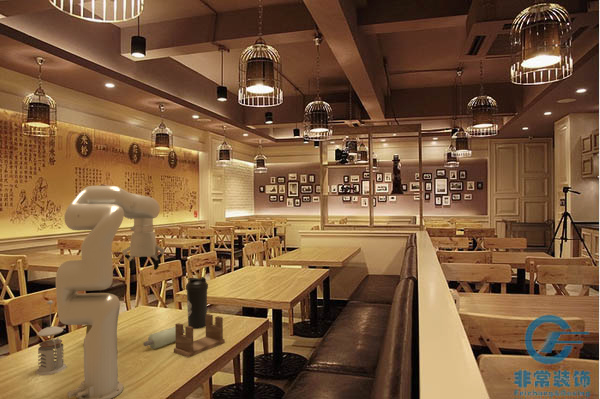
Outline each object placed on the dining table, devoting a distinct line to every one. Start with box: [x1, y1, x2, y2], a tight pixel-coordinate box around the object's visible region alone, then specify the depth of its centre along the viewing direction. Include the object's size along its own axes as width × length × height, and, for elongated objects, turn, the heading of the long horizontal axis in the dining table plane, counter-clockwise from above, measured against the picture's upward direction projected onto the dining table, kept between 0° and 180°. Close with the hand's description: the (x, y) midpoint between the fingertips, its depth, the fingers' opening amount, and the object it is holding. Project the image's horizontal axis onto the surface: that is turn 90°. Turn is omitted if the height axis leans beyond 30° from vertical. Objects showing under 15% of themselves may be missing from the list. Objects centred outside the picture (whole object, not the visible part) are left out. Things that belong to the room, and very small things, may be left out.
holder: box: [173, 313, 226, 358], centre depth 169 cm, size 19×9×11 cm, turn 144°
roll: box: [142, 326, 185, 350], centre depth 173 cm, size 19×6×6 cm, turn 144°
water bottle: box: [185, 276, 209, 330], centre depth 197 cm, size 10×10×23 cm
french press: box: [34, 299, 68, 376], centre depth 148 cm, size 10×12×25 cm
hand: (144, 269), depth 175 cm, fingers open, 9 cm apart
